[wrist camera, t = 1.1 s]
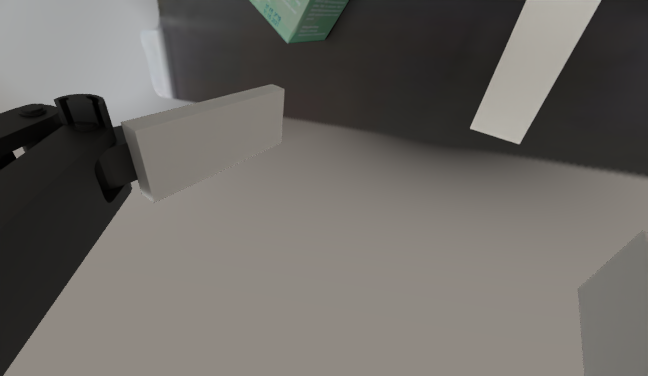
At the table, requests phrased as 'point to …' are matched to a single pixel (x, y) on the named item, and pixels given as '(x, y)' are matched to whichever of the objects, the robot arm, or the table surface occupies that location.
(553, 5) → the lid
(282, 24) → the box
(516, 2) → the table surface
